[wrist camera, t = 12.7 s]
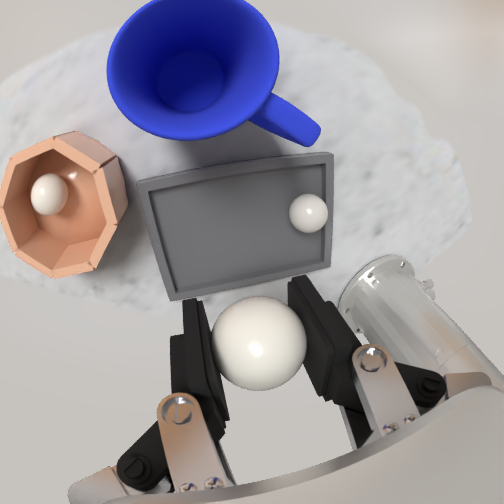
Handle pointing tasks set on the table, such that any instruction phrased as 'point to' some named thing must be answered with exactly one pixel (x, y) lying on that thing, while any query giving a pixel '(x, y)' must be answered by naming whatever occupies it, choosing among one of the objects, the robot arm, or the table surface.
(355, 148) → the table surface
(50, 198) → the white ball
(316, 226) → the white ball
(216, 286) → the tray
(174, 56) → the mug
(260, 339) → the white ball
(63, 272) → the bowl
